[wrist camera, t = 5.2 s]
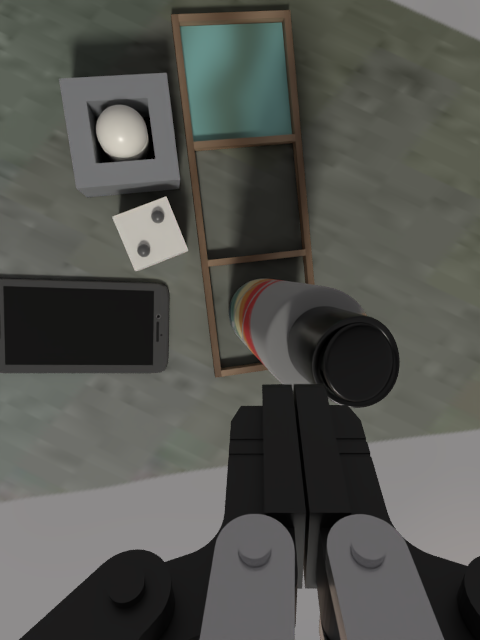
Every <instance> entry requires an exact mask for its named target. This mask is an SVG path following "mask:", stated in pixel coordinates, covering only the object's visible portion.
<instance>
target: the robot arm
mask: <svg viewBox="0 0 480 640" xmlns="http://www.w3.org/2000/svg"><path fill="white" fill-rule="evenodd" d="M262 394H263V406H241V407H240V408H239V410H238V411H237V413H236V415H235V416H234V418H233V419H232V421H231V431H230V445H229V459H228V474H227V487H226V501H225V514H224V520H223V523H222V526H221V528H220V530H219V532H218V533H217V535H216V536H215V537H214V538H213V539H212V540H211V541H210V542H209V543H208V544H207V545H206V546H205V547H203V548H201V549H199V550H198V551H196V552H193V553H191V554H188V555H185V556H182V557H179V558H176V559H173V560H170V561H167V562H164V561H163V560H162V559H161V558H160V557H159V556H157V555H155V554H154V553H152V552H150V551H145V550H129V551H126V552H122V553H119V554H117V555H115V556H113V557H112V558H110V559H109V560H107V561H106V562H105V563H103V564H102V565H101V566H100V567H99V568H98V569H97V570H96V571H95V572H94V573H92V574H91V575H90V576H89V577H88V578H87V579H86V580H85V581H84V582H83V583H81V584H80V585H79V586H78V587H77V588H76V589H75V590H74V591H73V592H71V593H70V594H69V595H68V596H67V597H66V598H65V599H64V600H62V601H61V602H60V603H59V604H58V605H57V606H56V607H55V608H54V609H53V610H51V611H50V612H49V613H48V614H47V615H46V616H45V617H44V618H43V619H42V620H40V621H39V622H38V623H37V624H36V625H35V626H34V627H33V628H32V629H30V630H29V631H28V632H27V633H26V634H25V635H24V636H23V637H22V638H20V639H19V640H295V636H294V635H295V634H294V633H295V624H296V603H297V588H302V578H303V569H304V580H305V588H317V590H318V599H319V607H320V620H319V634H320V640H480V556H479V557H477V558H475V559H474V560H473V561H471V563H470V564H469V565H468V566H465V565H462V564H459V563H455V562H452V561H449V560H446V559H443V558H440V557H437V556H433V555H431V554H428V553H425V552H423V551H421V550H420V549H418V548H416V547H415V546H413V545H412V544H410V543H409V542H408V541H406V540H405V539H404V538H403V537H402V536H401V534H400V533H399V532H398V531H397V530H396V529H395V527H394V526H393V524H392V522H391V521H390V518H389V516H388V513H387V510H386V506H385V503H384V499H383V496H382V492H381V489H380V486H379V482H378V478H377V475H376V472H375V468H374V465H373V461H372V458H371V457H370V451H369V447H368V444H367V442H366V437H365V434H364V430H363V427H362V423H361V420H360V419H359V418H358V417H357V416H356V414H355V413H354V412H353V411H352V410H351V409H350V408H349V406H348V405H329V402H328V398H327V393H326V388H325V385H324V384H294V387H293V389H292V384H273V385H262Z"/></svg>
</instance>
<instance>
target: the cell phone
mask: <svg viewBox="0 0 480 640" xmlns="http://www.w3.org/2000/svg"><path fill="white" fill-rule="evenodd" d="M168 351H169V290H168V288H167V286H166V285H164V284H159V283H148V282H117V281H84V280H51V279H18V278H0V373H158V372H162V371H164V370H165V369H166V367H167V364H168Z"/></svg>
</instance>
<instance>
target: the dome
mask: <svg viewBox="0 0 480 640" xmlns="http://www.w3.org/2000/svg"><path fill="white" fill-rule="evenodd" d="M96 134H97V138H98V141H99V143H100V145H101V146H102V148H103V150H104V151H105V153H106V155H107V156H108V158H109V159H110V160H111V161H112V162H122V161H135V160H145V158H146V157H147V155H148V152H149V146H150V144H149V137H148V132H147V127H146V124H145V122H144V119H143V118H142V116H141V115H140V114H139V113H138V112H137V111H136V110H134V109H133V108H131V107H129V106H126V105H113V106H110V107H108V108H106V109H105V110H104V111H103V112H102V113H101V114H100V116H99V118H98V120H97V124H96Z"/></svg>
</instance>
